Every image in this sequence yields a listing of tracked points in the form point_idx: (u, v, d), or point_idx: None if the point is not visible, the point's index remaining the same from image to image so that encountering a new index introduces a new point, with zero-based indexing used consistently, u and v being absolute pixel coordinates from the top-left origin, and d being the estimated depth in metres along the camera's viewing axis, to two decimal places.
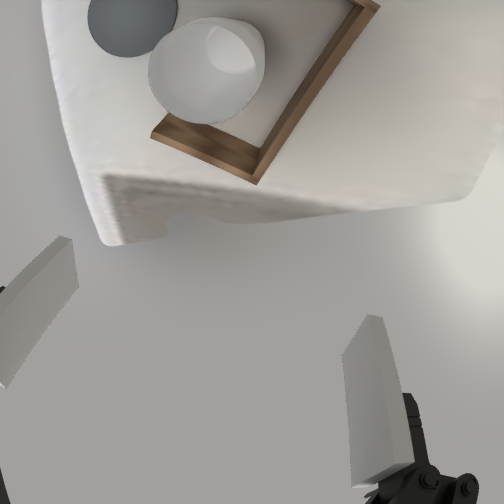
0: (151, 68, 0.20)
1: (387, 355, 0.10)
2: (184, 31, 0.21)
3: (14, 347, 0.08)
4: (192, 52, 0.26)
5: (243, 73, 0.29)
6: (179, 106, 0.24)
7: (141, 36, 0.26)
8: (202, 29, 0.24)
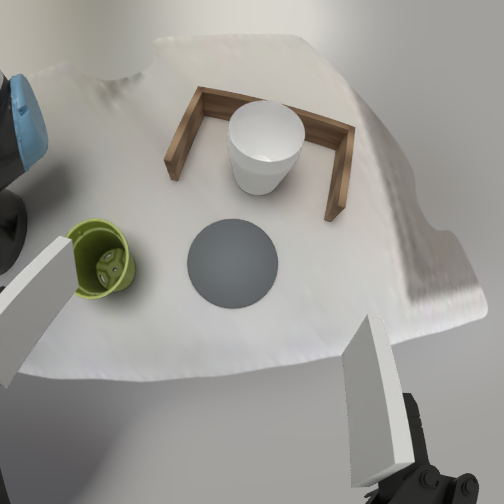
0: None
1: (387, 355, 0.10)
2: None
3: (14, 347, 0.08)
4: None
5: None
6: (299, 153, 0.34)
7: (256, 247, 0.41)
8: (243, 185, 0.40)
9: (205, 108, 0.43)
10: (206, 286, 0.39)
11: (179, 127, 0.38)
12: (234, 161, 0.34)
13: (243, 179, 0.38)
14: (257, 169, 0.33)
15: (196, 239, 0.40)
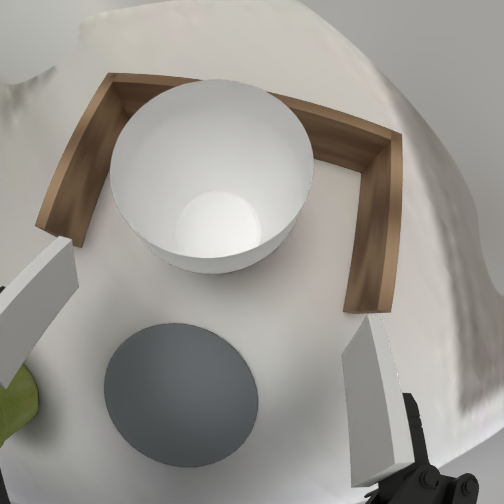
0: None
1: (387, 355, 0.10)
2: None
3: (14, 347, 0.08)
4: None
5: (255, 207, 0.24)
6: None
7: (217, 375, 0.21)
8: None
9: (127, 110, 0.23)
10: (139, 435, 0.19)
11: (64, 155, 0.18)
12: None
13: None
14: (189, 266, 0.13)
15: (113, 360, 0.20)
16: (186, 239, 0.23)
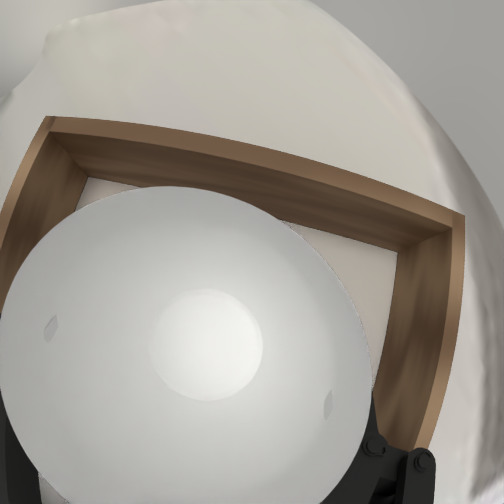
0: None
1: None
2: (128, 443, 0.09)
3: None
4: (215, 421, 0.13)
5: (255, 316, 0.17)
6: (326, 445, 0.07)
7: None
8: (161, 406, 0.13)
9: (79, 164, 0.17)
10: None
11: None
12: (84, 443, 0.07)
13: (147, 427, 0.11)
14: None
15: None
16: (163, 355, 0.17)
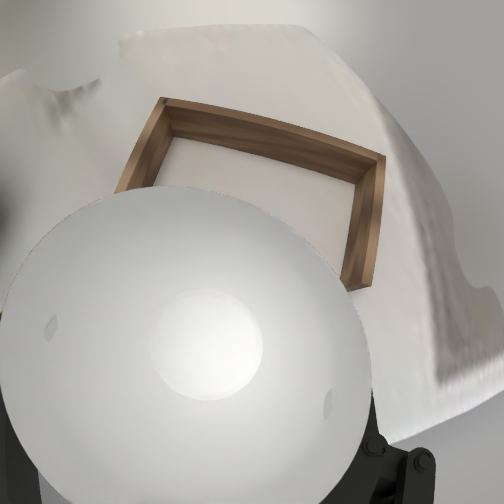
0: None
1: None
2: (129, 443, 0.09)
3: None
4: (215, 421, 0.13)
5: (255, 316, 0.17)
6: (326, 445, 0.07)
7: None
8: (161, 406, 0.13)
9: (173, 127, 0.31)
10: None
11: (129, 162, 0.26)
12: (84, 442, 0.07)
13: (147, 426, 0.11)
14: None
15: None
16: (163, 355, 0.17)
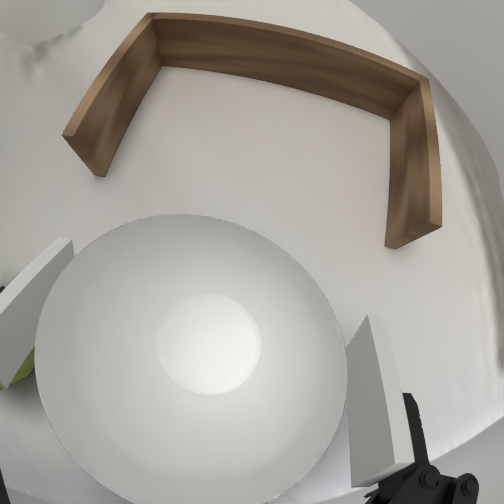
0: None
1: (387, 355, 0.10)
2: (141, 431, 0.11)
3: (14, 347, 0.08)
4: (218, 413, 0.15)
5: (254, 318, 0.18)
6: (313, 428, 0.08)
7: None
8: (168, 400, 0.15)
9: (162, 51, 0.22)
10: None
11: (101, 73, 0.16)
12: (104, 430, 0.09)
13: (157, 417, 0.12)
14: None
15: None
16: (170, 353, 0.18)
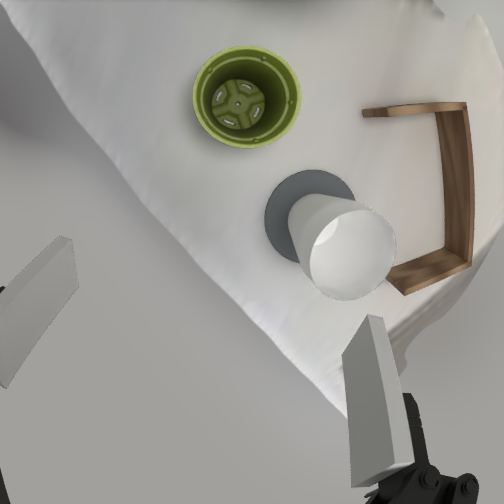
0: (311, 279, 0.27)
1: (387, 355, 0.10)
2: None
3: (14, 347, 0.08)
4: None
5: (335, 233, 0.37)
6: (343, 291, 0.29)
7: None
8: (290, 224, 0.34)
9: (443, 111, 0.32)
10: (278, 209, 0.36)
11: (423, 106, 0.27)
12: (302, 230, 0.27)
13: (293, 231, 0.31)
14: (303, 265, 0.28)
15: (318, 172, 0.35)
16: None
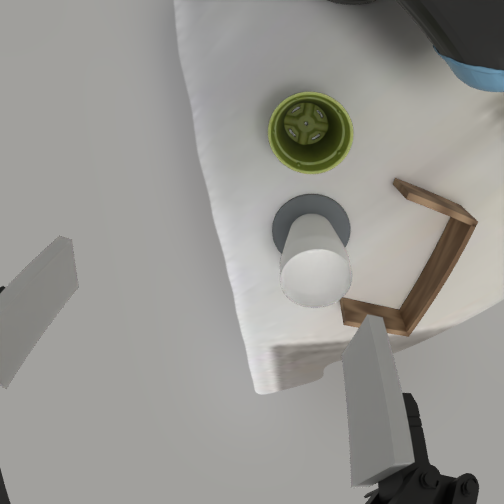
0: None
1: (387, 355, 0.10)
2: None
3: (14, 347, 0.08)
4: None
5: (321, 251, 0.47)
6: (297, 296, 0.39)
7: None
8: (291, 228, 0.43)
9: None
10: (291, 211, 0.44)
11: (439, 206, 0.35)
12: (293, 241, 0.37)
13: (289, 235, 0.41)
14: (280, 263, 0.37)
15: (333, 203, 0.43)
16: None
